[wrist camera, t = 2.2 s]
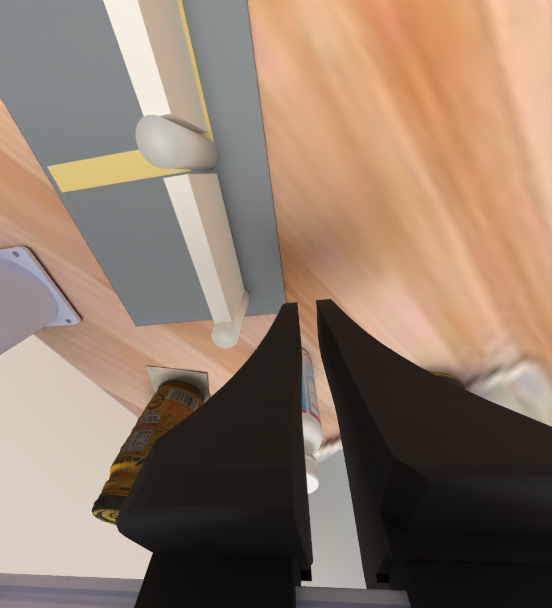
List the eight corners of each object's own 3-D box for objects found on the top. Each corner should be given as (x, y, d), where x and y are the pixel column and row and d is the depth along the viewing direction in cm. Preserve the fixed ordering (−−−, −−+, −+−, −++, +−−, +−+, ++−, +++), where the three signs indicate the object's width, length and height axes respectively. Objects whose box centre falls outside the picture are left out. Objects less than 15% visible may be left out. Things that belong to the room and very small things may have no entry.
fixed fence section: (221, 167, 14) (186, 165, 9) (196, 172, 15) (147, 171, 9) (140, -191, 8) (-93, -771, 3) (98, -175, 8) (-185, -700, 3)
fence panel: (195, 177, 14) (150, 179, 10) (221, 172, 14) (188, 172, 9) (232, 306, 20) (214, 349, 15) (251, 304, 19) (240, 347, 15)
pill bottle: (249, 367, 25) (226, 488, 15) (276, 333, 22) (268, 455, 13) (292, 386, 26) (296, 507, 17) (323, 356, 24) (348, 481, 14)
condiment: (159, 407, 30) (93, 528, 20) (146, 365, 26) (54, 492, 15) (211, 412, 30) (172, 534, 20) (207, 371, 26) (156, 502, 16)
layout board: (138, 323, 22) (135, 326, 22) (-116, -113, 10) (-135, -126, 9) (287, 310, 21) (287, 313, 20) (215, -236, 8) (212, -259, 8)
